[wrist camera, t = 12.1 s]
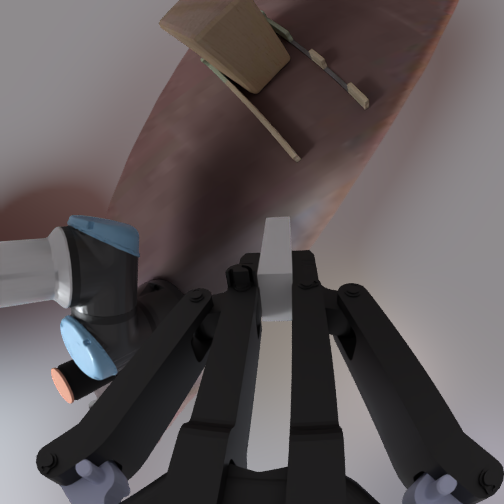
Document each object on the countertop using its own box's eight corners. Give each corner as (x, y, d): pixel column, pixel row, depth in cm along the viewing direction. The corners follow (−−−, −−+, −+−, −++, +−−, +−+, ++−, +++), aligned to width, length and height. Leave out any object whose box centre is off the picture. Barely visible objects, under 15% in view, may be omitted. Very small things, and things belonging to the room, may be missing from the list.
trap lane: (297, 162, 41) (288, 155, 37) (213, 70, 45) (200, 59, 40) (369, 107, 35) (368, 94, 31) (270, 24, 39) (261, 10, 34)
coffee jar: (99, 341, 68) (51, 361, 52) (121, 369, 66) (73, 394, 50) (93, 358, 72) (50, 378, 56) (113, 384, 70) (70, 408, 53)
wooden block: (255, 38, 40) (200, -23, 22) (294, 59, 39) (247, -13, 20) (221, 73, 44) (153, 23, 26) (257, 97, 42) (191, 41, 24)
